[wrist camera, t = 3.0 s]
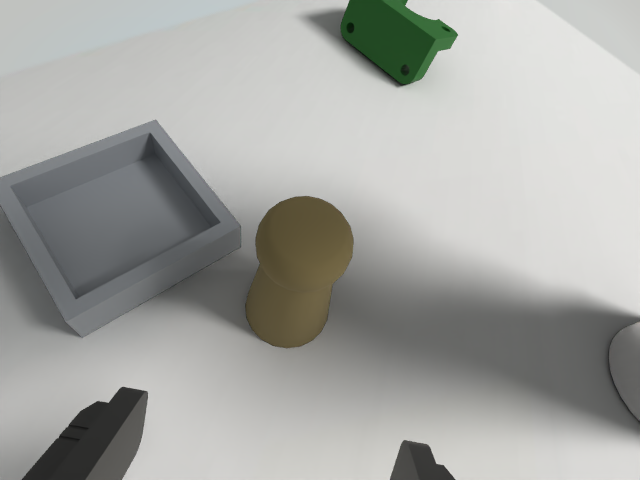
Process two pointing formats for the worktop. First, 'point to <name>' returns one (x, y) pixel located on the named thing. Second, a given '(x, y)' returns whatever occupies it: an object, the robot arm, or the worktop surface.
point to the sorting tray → (116, 223)
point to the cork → (297, 270)
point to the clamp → (395, 37)
